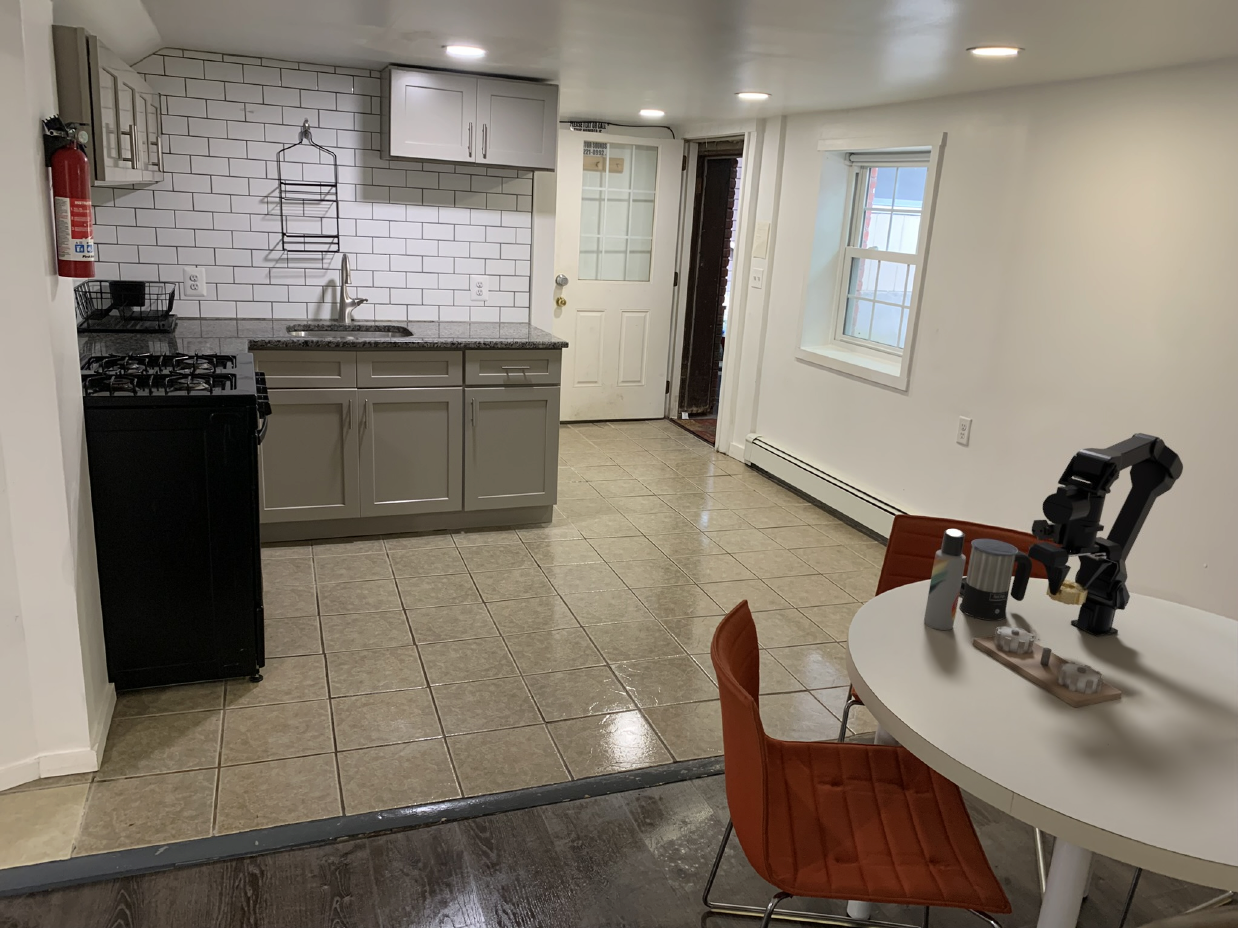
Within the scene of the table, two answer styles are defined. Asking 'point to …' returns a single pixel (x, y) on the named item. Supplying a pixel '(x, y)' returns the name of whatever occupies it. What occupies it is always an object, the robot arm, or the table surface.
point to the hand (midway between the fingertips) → (1066, 592)
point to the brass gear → (1069, 593)
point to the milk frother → (993, 578)
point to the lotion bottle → (946, 581)
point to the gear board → (1047, 667)
